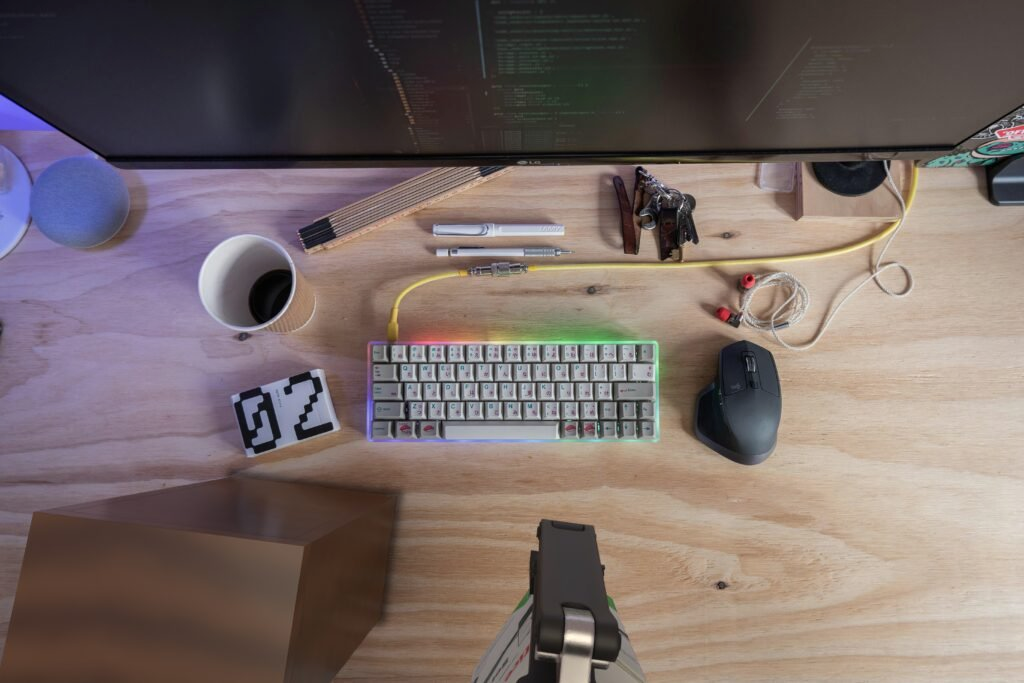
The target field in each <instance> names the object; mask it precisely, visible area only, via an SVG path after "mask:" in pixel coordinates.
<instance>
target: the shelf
mask: <svg viewBox="0 0 1024 683" xmlns="http://www.w3.org/2000/svg"><path fill="white" fill-rule="evenodd" d="M311 546H312V542H308V541H301V540H293V539H285V538H277V537H269V536H261V535H253V534H245V533H237V532H229V531H221V530H214V529H206V528H198V527H190V526H182V525H174V524H166V523H158V522H150V521H142V520H134V519H127V518H119V517H111V516H103V515H95V514H87V513H79V512H71V511H63V510H55V509H51V508H45V509H40V510H34V511H33V512H32V516H31V520H30V524H29V529H28V534H27V539H26V543H25V549H24V554H23V558H22V562H21V567H20V572H19V576H18V581H17V585H16V590H15V595H14V599H13V604H12V609H11V614H10V619H9V623H8V628H7V633H6V636H5V641H4V646H3V651H2V656H1V660H0V683H291V676H292V670H293V663H294V657H295V650H296V644H297V637H298V631H299V624H300V617H301V611H302V604H303V598H304V591H305V585H306V578H307V572H308V565H309V559H310V552H311Z"/></svg>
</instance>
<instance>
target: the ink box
mask: <svg viewBox="0 0 1024 683" xmlns="http://www.w3.org/2000/svg"><path fill="white" fill-rule="evenodd" d="M607 599H608V604H609V609H610V611H611V613H612V614H613V616H614V617H615V618H616V620H617V622H618V627H619V633H621V638H622V642H621V650H620V651H619V656H618V657H617V660H616V662H615V663H614V662H610V666H609V669H608V670H601V669H595V680H596V683H648V680H647V677H646V675H645V673H644V670H643V668H642V666H641V664H640V661H639V659H638V656H637V654H636V652H635V650H634V646H633V645H632V642H631V641H630V640H631V639H630V638H629V636H628V634H627V631H626V628H625V626H624V624H623V621H622V619H621V617H620V614H619V613H618V610H617V607H616V605H615V602H614V599H613V598H612V597H611V596H610V595H609V594H607ZM532 607H533V595H532V594H529V589H528V590H527V591H526V592H525V594H524V595H523V597H522V598H521V600H520V601H519V602H518V604H517V606H516V607H515V608H514V610H513V611H512V613H510V615H509V617H508V618H507V620H506V622H505V623H504V624H503V626H502V627H501V629H500V630H499V631H498V633H497V634H496V636H495V637H494V639H493V640H492V642H491V643H490V644H489V646H488V648H487V649H486V650H485V652H484V653H483V655H481V658H480V659H479V660H478V662H477V663H476V665H475V666H474V667H473V668H474V669H473V671H472V676H471V680H470V683H516V681H517V680H518V679H519V678H520V677H522V676H525V675H527V674H528V667H529V652H530V637H531V622H532Z"/></svg>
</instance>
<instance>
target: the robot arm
mask: <svg viewBox="0 0 1024 683" xmlns="http://www.w3.org/2000/svg"><path fill="white" fill-rule="evenodd" d="M535 538H537V540H538V550H533V549H530V554H529V564H528V566H529V568H528V569H529V571H528V572H529V575H528V576H529V577H528V581H529V582H528V583H529V584H528V590H529V594H532V595H533V607H532V622H531V637H530V652H529V667H528V674H527V675H525V676H522V677H520V678H519V679H518V680H517V681H516V683H596V680H595V669H601V670H608V669H609V666H610V662H614V663H615V662H616V660H617V657H618V656H619V651H620V650H621V642H622V638H621V633H619V627H618V622H617V620H616V618H615V617H614V616H613V614H612V613H611V611H610V609H609V604H608V599H607V595H608V594H607V589H606V584H605V578H604V577H605V571H606V565H605V564H602V562H601V556H600V550H599V546H598V541H597V540H598V539H597V533H596V530H595V525H593V524H585V523H578V522H569V521H562V520H555V519H548V518H547V519H546V518H541V520H540V521H539V523H538V525H537V527H536V536H535Z"/></svg>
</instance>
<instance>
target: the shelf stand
mask: <svg viewBox="0 0 1024 683" xmlns="http://www.w3.org/2000/svg"><path fill="white" fill-rule="evenodd" d="M396 502H397V495H390V494H383V493H382V494H381V493H374V492H365V491H358V490H357V491H356V490H350V489H349V490H348V489H340V488H332V487H326V486H324V487H323V486H317V485H316V486H315V485H308V484H301V483H293V482H283V481H277V480H276V481H274V480H267V479H259V478H252V477H251V478H250V477H243V476H234V475H233V476H228V477H222V478H216V479H210V480H205V481H200V482H194V483H189V484H182V485H177V486H171V487H166V488H159V489H154V490H148V491H142V492H137V493H131V494H126V495H120V496H115V497H114V496H113V497H108V498H103V499H98V500H92V501H86V502H81V503H74V504H69V505H63V506H57V507H52V508H50V509H55V510H63V511H71V512H79V513H87V514H95V515H103V516H111V517H119V518H127V519H134V520H142V521H150V522H158V523H166V524H174V525H182V526H190V527H198V528H206V529H214V530H221V531H229V532H237V533H245V534H253V535H261V536H269V537H277V538H285V539H293V540H301V541H308V542H312V546H311V552H310V559H309V565H308V572H307V578H306V585H305V591H304V598H303V604H302V611H301V617H300V624H299V631H298V637H297V644H296V650H295V657H294V663H293V670H292V676H291V683H332V682H333V680H334V679H335V678H336V677H337V675H338V674H339V673H340V671H341V670H342V668H343V667H344V666H345V665H346V664H347V662H348V661H349V660H350V658H351V657H352V656H353V654H354V653H355V652H356V650H357V649H358V648H359V647H360V645H361V644H362V643H363V641H364V640H365V639H366V637H367V636H368V635H369V634H370V633H371V631H372V630H373V628H374V627H375V626H376V624H378V622H379V621H380V619H381V613H382V605H383V599H384V590H385V586H386V576H387V570H388V563H389V555H390V549H391V548H390V547H391V540H392V533H393V527H394V518H395V510H396Z"/></svg>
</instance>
